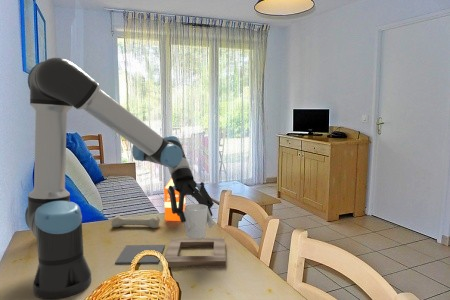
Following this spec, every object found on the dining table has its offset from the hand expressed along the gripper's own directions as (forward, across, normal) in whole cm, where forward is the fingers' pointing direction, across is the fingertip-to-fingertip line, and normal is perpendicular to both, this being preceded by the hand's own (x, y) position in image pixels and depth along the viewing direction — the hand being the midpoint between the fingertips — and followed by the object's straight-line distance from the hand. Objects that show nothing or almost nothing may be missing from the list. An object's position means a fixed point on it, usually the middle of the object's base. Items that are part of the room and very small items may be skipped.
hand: (200, 227), depth 117 cm
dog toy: (-22, +9, -37) cm, 44 cm away
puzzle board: (+5, 0, -10) cm, 11 cm away
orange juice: (-24, -10, -38) cm, 46 cm away
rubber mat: (-2, +16, -17) cm, 23 cm away
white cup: (0, 0, -5) cm, 5 cm away
